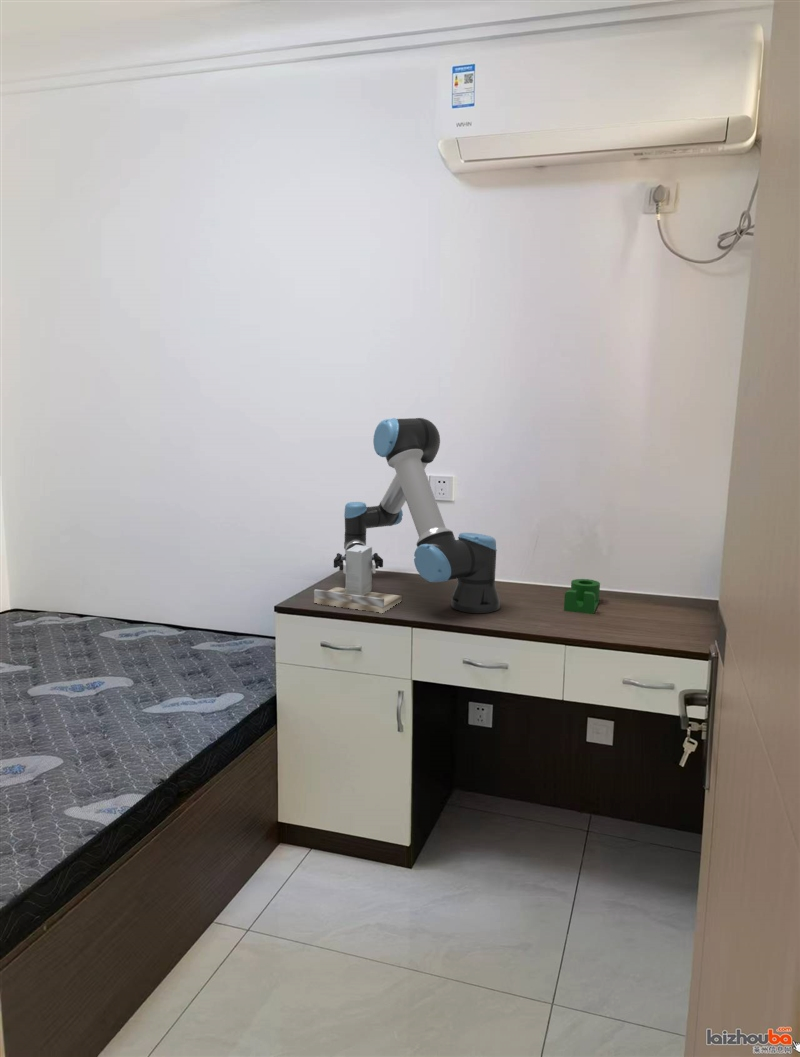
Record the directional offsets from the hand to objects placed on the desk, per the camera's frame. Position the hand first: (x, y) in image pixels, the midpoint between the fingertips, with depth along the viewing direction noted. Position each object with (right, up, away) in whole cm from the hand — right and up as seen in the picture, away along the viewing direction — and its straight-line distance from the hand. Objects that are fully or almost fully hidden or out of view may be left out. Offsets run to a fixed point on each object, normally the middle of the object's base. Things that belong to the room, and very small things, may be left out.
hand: (359, 569), depth 236 cm
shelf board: (-1, -11, +6) cm, 13 cm away
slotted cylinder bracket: (+71, -12, +7) cm, 72 cm away
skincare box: (-1, -8, +6) cm, 10 cm away
